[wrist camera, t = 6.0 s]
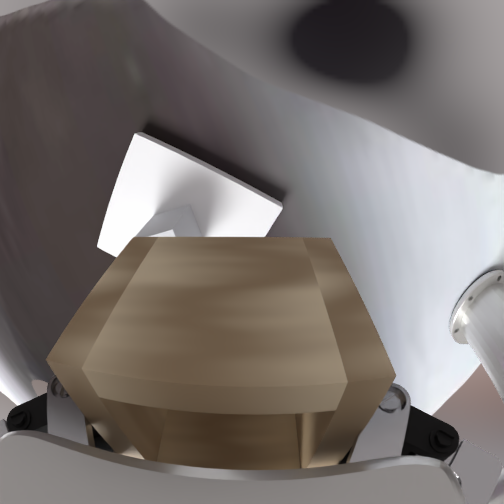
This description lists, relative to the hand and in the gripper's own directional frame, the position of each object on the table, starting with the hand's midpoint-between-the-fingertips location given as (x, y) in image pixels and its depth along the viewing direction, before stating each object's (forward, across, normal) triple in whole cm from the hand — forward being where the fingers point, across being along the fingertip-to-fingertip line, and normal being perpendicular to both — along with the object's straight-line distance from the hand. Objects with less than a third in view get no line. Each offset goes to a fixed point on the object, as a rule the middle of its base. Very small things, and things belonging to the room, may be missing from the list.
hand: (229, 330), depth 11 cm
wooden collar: (+1, 0, 0) cm, 1 cm away
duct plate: (+16, +6, +2) cm, 18 cm away
